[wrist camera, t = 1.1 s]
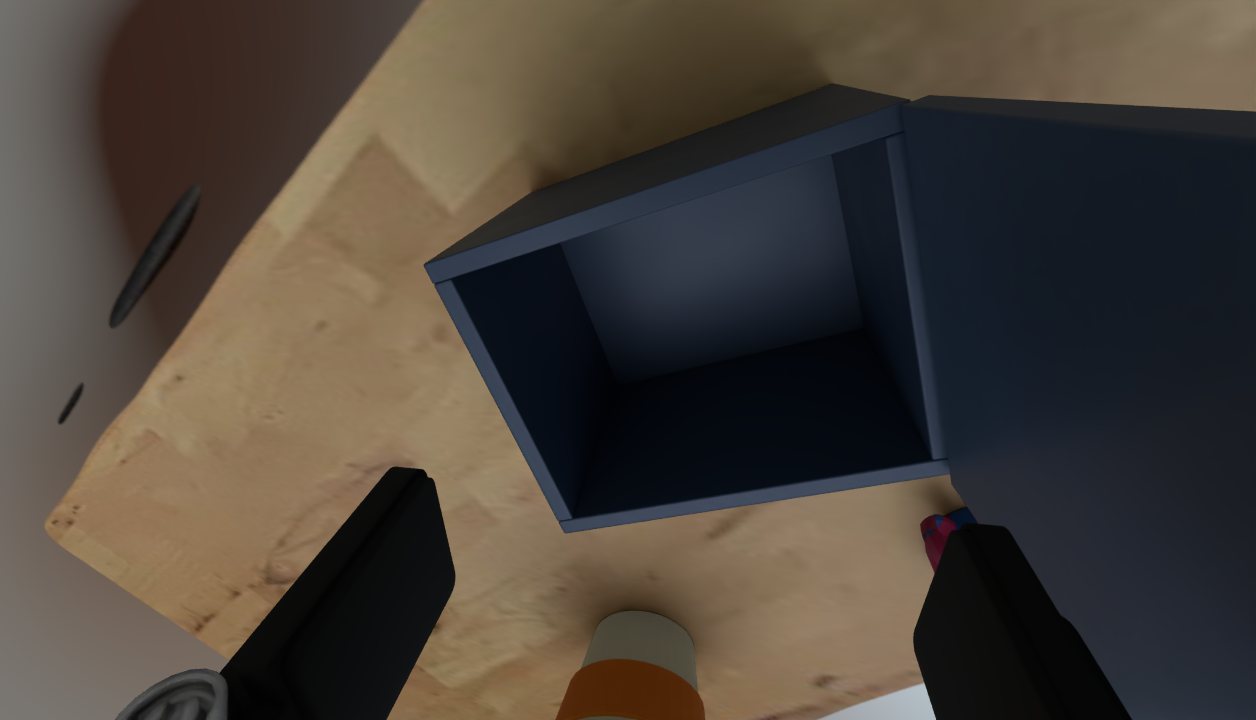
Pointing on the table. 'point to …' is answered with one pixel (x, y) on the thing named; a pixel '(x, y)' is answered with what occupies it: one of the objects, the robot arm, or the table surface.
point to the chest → (712, 318)
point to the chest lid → (1105, 371)
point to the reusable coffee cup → (635, 672)
